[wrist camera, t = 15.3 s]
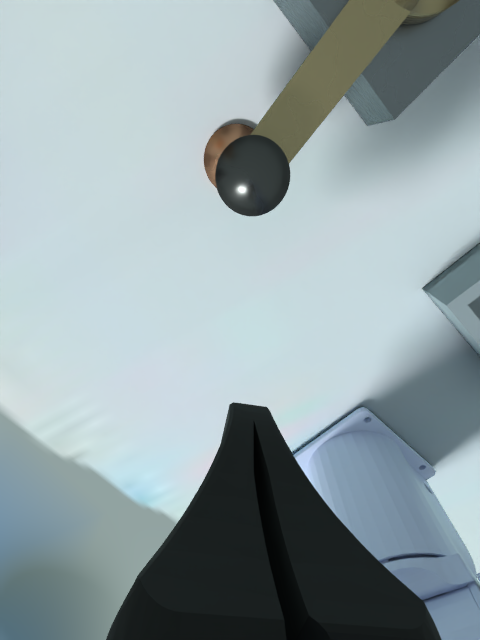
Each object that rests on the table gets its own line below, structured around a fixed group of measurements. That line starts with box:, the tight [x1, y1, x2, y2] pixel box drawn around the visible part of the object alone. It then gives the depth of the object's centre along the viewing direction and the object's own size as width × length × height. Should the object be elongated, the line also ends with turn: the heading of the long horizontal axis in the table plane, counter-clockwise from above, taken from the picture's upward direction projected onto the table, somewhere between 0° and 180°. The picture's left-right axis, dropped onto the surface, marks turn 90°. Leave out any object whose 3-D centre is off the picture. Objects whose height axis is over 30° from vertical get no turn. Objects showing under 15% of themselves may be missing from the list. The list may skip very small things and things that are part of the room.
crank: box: [215, 0, 460, 216], centre depth 11 cm, size 12×4×3 cm, turn 140°
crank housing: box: [204, 0, 480, 188], centre depth 14 cm, size 7×14×3 cm, turn 136°
